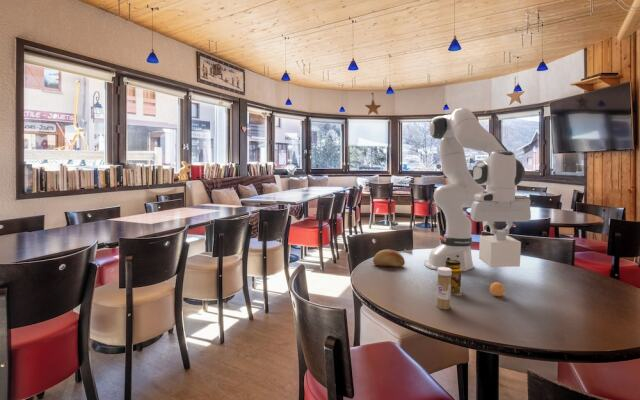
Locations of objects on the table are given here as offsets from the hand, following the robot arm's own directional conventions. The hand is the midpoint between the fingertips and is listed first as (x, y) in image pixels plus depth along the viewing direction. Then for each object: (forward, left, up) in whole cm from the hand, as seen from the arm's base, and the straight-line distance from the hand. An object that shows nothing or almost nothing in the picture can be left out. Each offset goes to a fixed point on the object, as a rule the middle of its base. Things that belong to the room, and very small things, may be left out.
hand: (499, 233), depth 134 cm
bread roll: (-34, +39, -23) cm, 57 cm away
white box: (0, 0, -11) cm, 11 cm away
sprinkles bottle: (-23, -12, -23) cm, 35 cm away
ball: (0, -1, -21) cm, 21 cm away
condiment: (-16, +4, -23) cm, 29 cm away
